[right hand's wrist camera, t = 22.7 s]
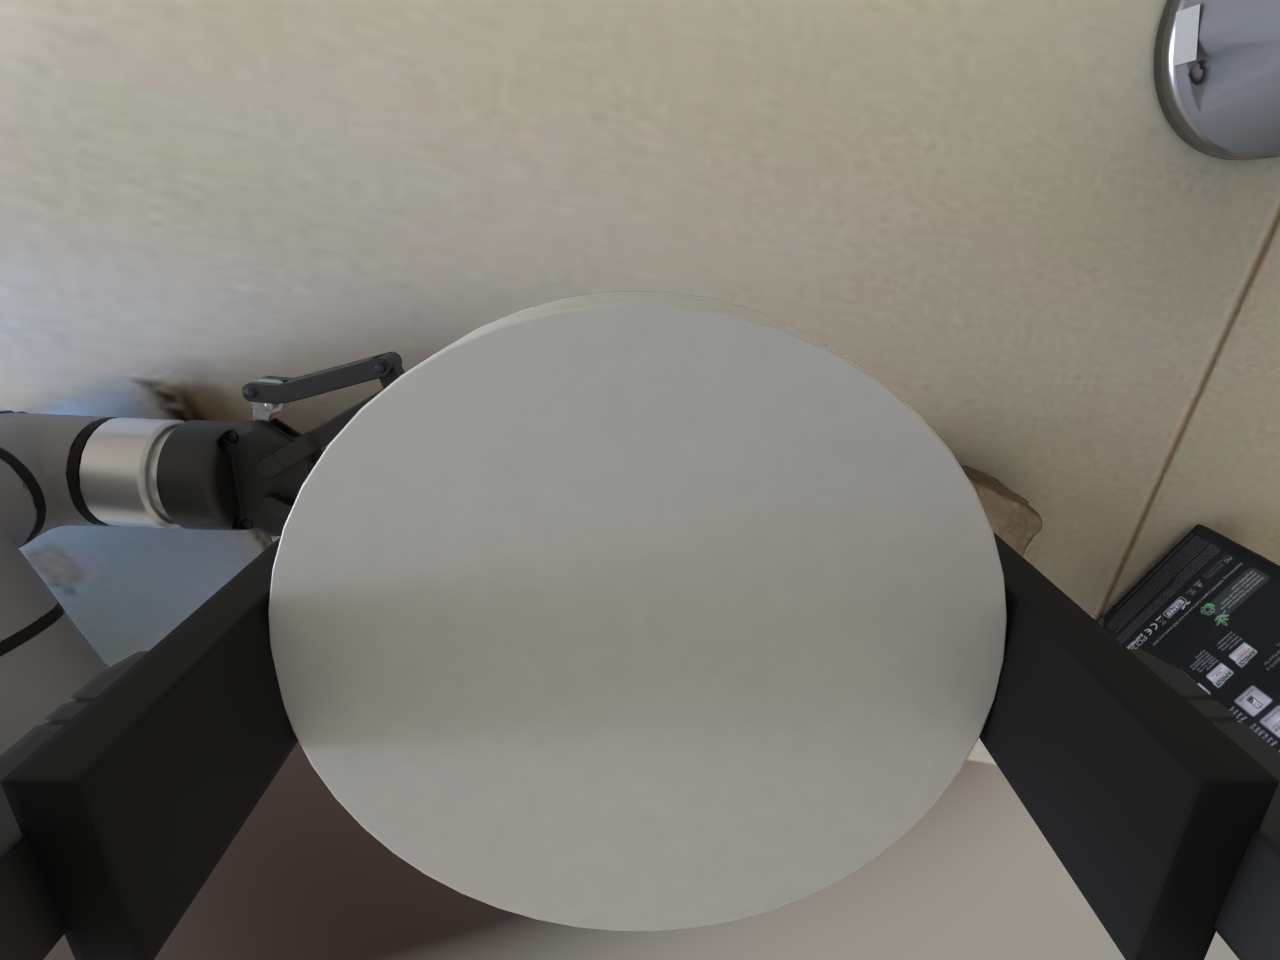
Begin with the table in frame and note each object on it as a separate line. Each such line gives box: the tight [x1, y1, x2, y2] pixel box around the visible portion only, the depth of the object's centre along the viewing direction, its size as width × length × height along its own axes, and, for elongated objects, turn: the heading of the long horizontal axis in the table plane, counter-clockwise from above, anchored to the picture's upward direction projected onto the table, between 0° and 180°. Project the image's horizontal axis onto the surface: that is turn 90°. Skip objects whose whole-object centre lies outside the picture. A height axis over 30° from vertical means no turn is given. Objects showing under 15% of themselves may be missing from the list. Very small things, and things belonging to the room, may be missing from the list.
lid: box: [268, 291, 1007, 931], centre depth 11 cm, size 11×11×2 cm
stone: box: [961, 466, 1042, 557], centre depth 55 cm, size 21×15×6 cm
